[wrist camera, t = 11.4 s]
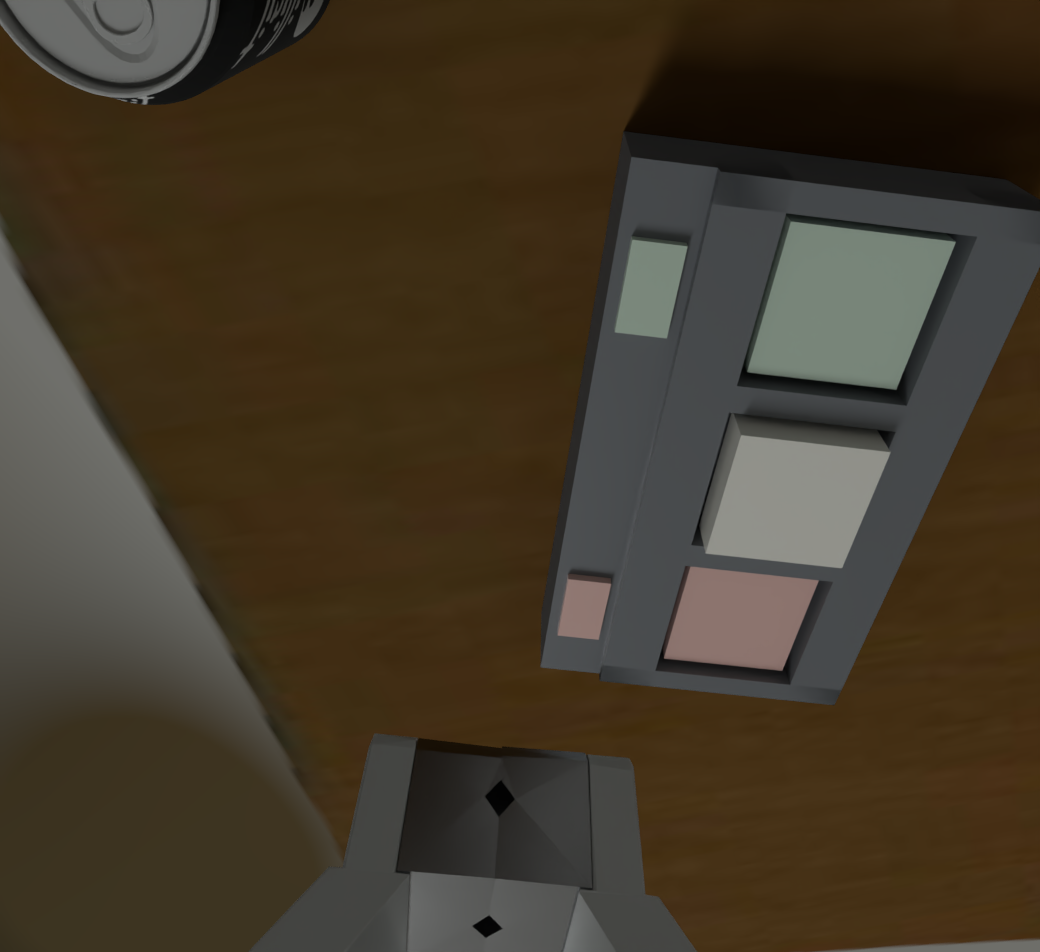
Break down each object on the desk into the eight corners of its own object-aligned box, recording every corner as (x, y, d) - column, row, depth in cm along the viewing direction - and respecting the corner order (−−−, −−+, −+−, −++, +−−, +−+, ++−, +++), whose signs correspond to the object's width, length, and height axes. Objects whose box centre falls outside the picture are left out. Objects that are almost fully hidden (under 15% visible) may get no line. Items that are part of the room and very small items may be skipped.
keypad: (623, 131, 33) (632, 160, 29) (1006, 179, 33) (1064, 214, 29) (541, 612, 46) (540, 674, 43) (811, 641, 47) (834, 704, 43)
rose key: (685, 539, 41) (690, 566, 39) (808, 553, 41) (819, 580, 39) (659, 630, 44) (663, 658, 42) (773, 642, 44) (782, 670, 43)
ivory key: (732, 410, 35) (741, 435, 33) (874, 426, 35) (890, 452, 34) (698, 525, 38) (705, 553, 37) (829, 539, 39) (841, 568, 37)
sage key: (778, 205, 32) (790, 221, 30) (935, 224, 32) (955, 241, 30) (738, 350, 35) (746, 372, 34) (879, 367, 35) (896, 389, 34)
